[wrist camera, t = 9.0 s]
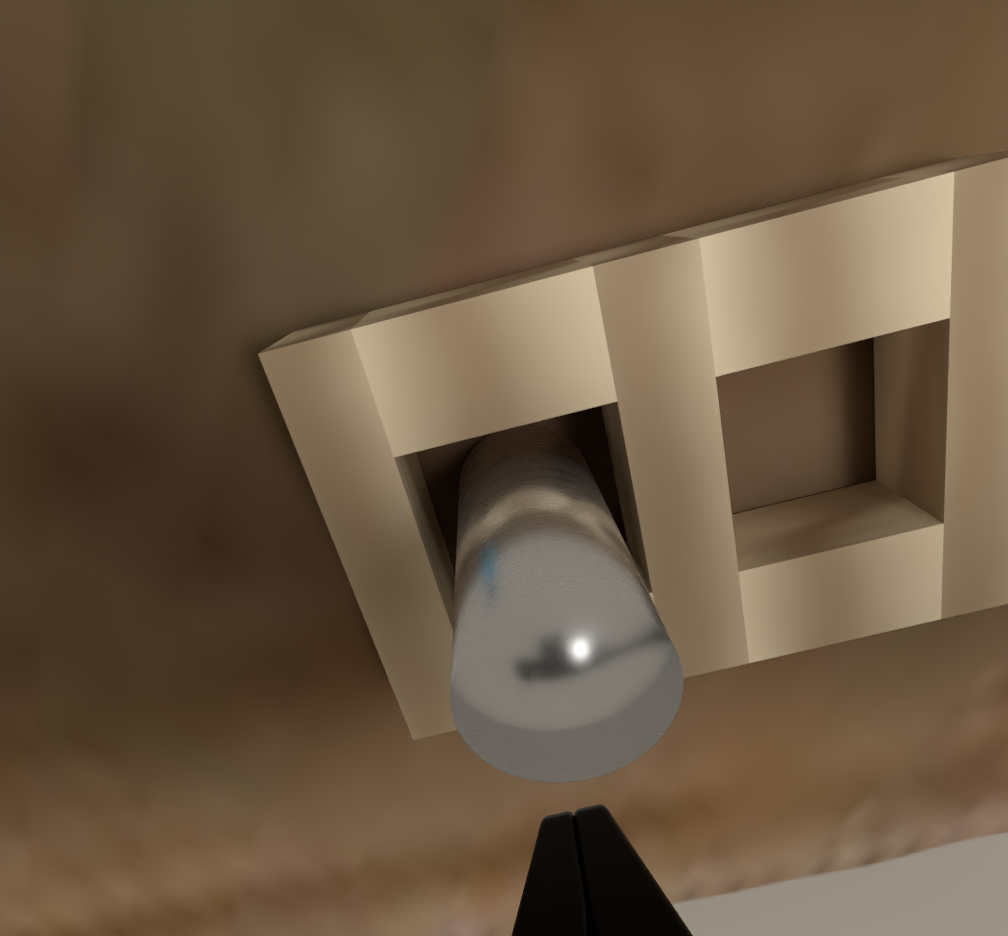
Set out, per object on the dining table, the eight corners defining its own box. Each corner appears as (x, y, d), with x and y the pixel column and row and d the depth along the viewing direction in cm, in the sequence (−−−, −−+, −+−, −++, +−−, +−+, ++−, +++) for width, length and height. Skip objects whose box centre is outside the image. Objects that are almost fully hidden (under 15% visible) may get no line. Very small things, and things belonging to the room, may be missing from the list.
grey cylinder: (575, 409, 18) (665, 570, 10) (600, 527, 20) (697, 755, 11) (443, 442, 18) (420, 629, 10) (478, 556, 20) (483, 802, 11)
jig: (955, 157, 16) (1057, 144, 13) (943, 549, 20) (1017, 601, 18) (292, 331, 17) (258, 353, 14) (420, 672, 21) (413, 740, 18)
